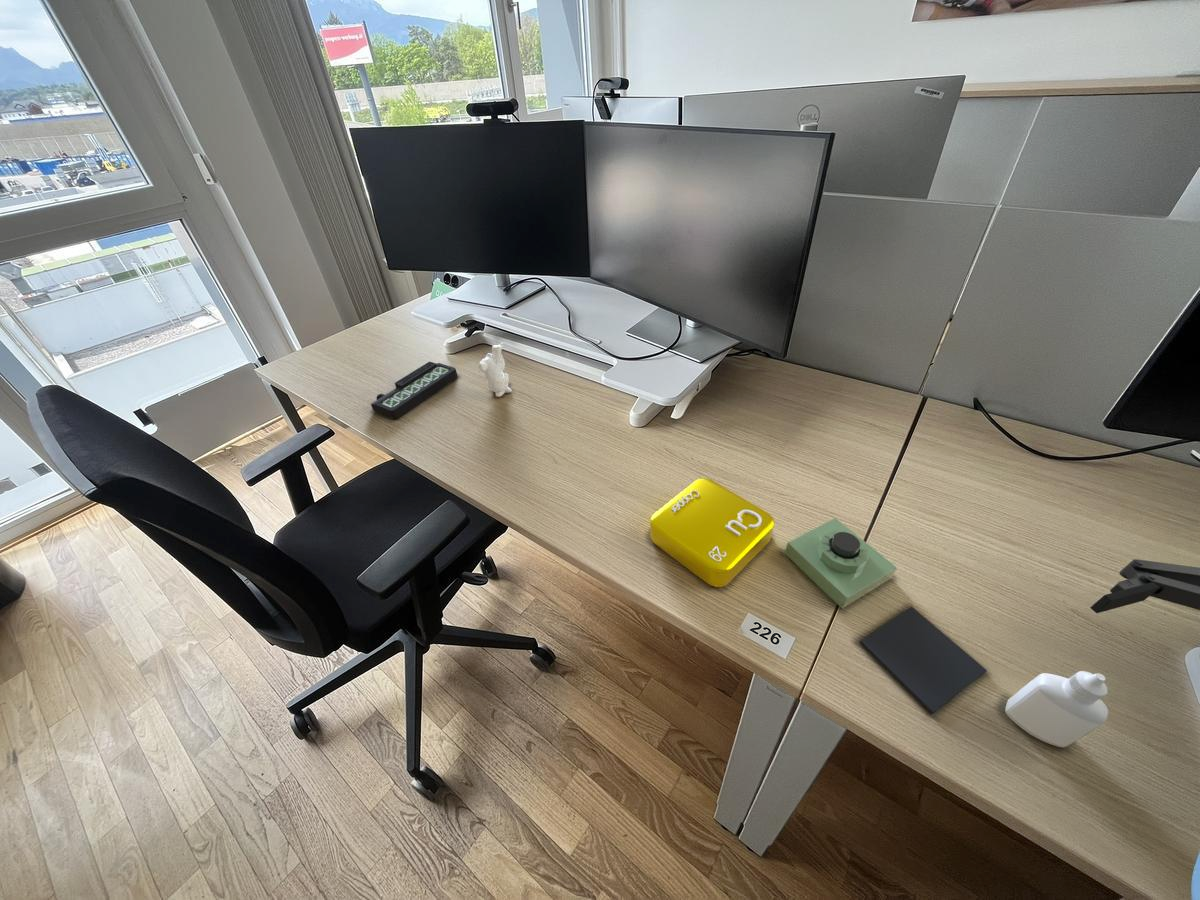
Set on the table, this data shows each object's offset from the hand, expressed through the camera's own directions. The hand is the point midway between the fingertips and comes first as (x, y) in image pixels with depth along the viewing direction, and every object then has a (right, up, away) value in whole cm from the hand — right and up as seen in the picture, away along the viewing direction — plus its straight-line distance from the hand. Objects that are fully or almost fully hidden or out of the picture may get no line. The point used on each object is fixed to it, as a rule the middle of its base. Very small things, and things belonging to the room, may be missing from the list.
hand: (1168, 662), depth 47 cm
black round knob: (-23, +7, +20) cm, 31 cm away
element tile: (-40, +7, +29) cm, 50 cm away
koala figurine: (-83, +36, +67) cm, 113 cm away
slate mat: (-17, -5, +12) cm, 22 cm away
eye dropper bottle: (-9, -10, +5) cm, 14 cm away
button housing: (-22, +4, +23) cm, 32 cm away
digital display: (-105, +36, +70) cm, 131 cm away
